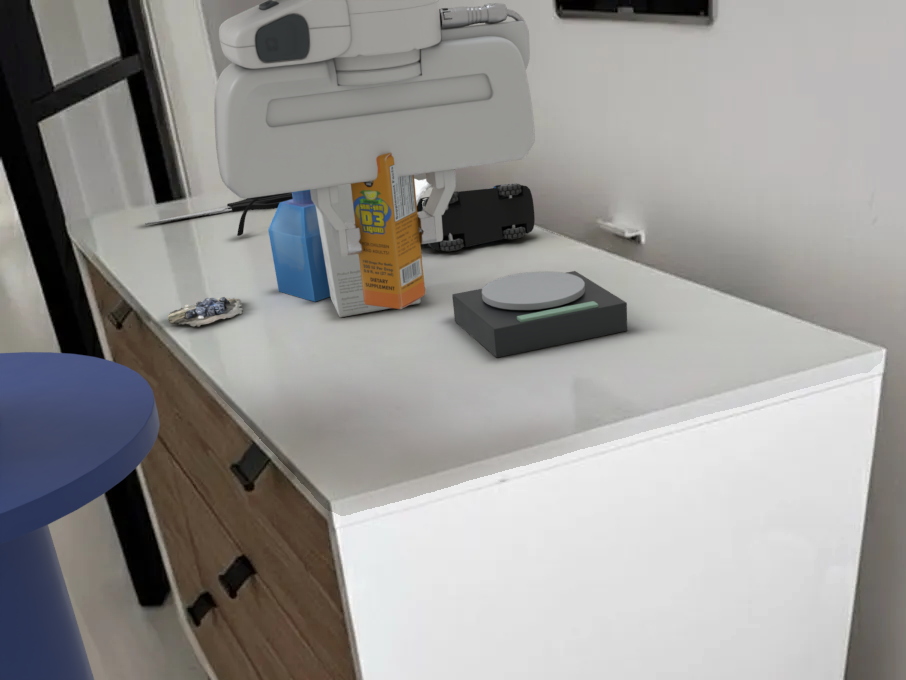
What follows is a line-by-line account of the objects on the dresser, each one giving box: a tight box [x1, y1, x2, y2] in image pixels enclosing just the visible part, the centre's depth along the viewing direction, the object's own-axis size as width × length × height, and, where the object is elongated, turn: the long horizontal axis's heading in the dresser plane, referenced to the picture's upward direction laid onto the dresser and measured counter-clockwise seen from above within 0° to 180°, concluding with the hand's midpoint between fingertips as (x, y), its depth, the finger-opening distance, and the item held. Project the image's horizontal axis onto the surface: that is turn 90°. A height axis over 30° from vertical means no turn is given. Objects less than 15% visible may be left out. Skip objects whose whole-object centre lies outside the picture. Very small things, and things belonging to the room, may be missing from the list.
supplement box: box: [351, 153, 426, 310], centre depth 79 cm, size 3×3×10 cm
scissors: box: [144, 192, 293, 226], centre depth 155 cm, size 7×1×20 cm
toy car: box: [417, 182, 536, 252], centre depth 131 cm, size 6×12×6 cm
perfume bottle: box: [267, 190, 331, 303], centre depth 120 cm, size 6×6×12 cm
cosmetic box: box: [316, 184, 422, 318], centre depth 113 cm, size 8×7×16 cm
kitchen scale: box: [451, 270, 628, 359], centre depth 106 cm, size 12×11×3 cm
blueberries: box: [167, 296, 243, 328], centre depth 118 cm, size 7×8×2 cm
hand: (388, 247), depth 80 cm, fingers closed on supplement box, 4 cm apart
